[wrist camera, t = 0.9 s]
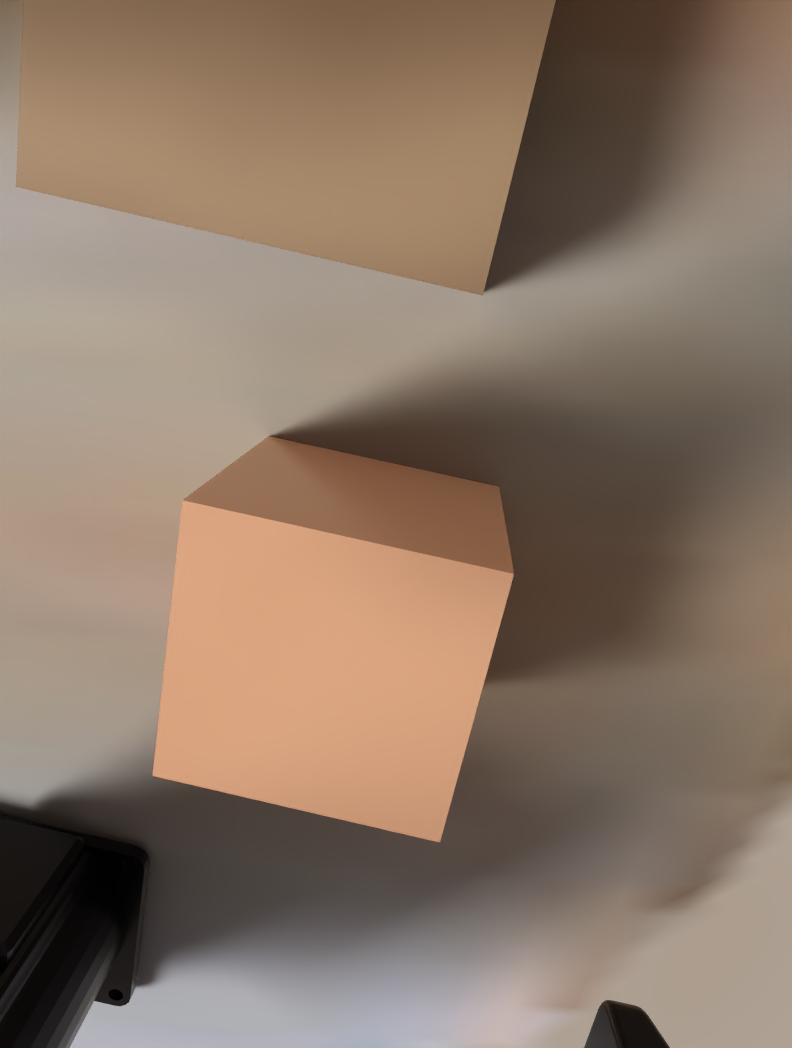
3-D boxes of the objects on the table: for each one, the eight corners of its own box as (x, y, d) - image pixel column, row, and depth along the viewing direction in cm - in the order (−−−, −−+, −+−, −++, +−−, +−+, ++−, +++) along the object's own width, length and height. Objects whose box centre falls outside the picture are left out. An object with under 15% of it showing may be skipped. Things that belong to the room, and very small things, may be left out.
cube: (447, 687, 20) (439, 842, 15) (239, 640, 20) (152, 775, 15) (499, 485, 18) (514, 574, 13) (269, 435, 18) (182, 500, 13)
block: (478, 294, 17) (482, 294, 13) (113, 208, 17) (16, 186, 14) (592, -171, 14) (639, -338, 10) (153, -269, 14) (43, -468, 11)
